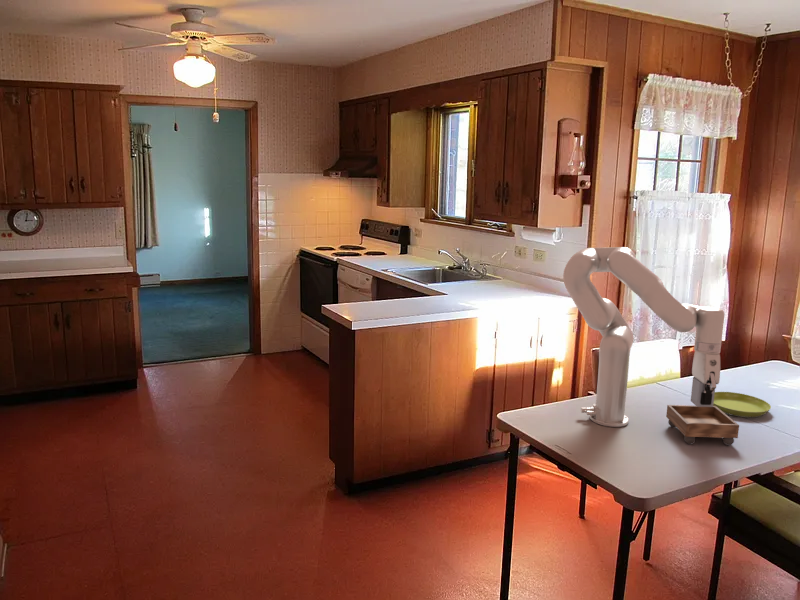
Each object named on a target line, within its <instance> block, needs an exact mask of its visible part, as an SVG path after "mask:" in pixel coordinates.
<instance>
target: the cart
mask: <svg viewBox="0 0 800 600" xmlns="http://www.w3.org/2000/svg"><path fill="white" fill-rule="evenodd" d="M666 406H667V408H666V413H665V415H666V418H667V419H668V425H669V426H670V427H671V428H676V429H678V431H679V432H680V433H681V434H682V435H683V436H684V437H683V441H684V442H685V443H686V444H687V445H692V444H694V443H695V442H696V438H721V439H722V440H721V441H722V442H723V443H724V444H725V445H726V446H731V445H733V444H734V443H735V439H738V438H739V430H740V425H739V424H738V423H737V422H736V421H735V420H734V419H732V418H731V417H730V416H728V414H726V413H724V412H722V411H721V410H720V409H719V408H718V407H716V406H713V407H697V406H696V405H689V404H688V405H687V404H686V405H682V404H680V405H679V404H667V405H666Z"/></svg>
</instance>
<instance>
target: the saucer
mask: <svg viewBox="0 0 800 600" xmlns="http://www.w3.org/2000/svg"><path fill="white" fill-rule="evenodd" d="M713 406H716V407H718V408H719V409H720V410H721V411H722V412H724V413H725V414H726V413H727V414H726V415H730V416H735V417H740V418H757V417H761V416H763V415H765V414H767V413H768V412H769V411H770V410H771V408H772V406H771V404H770V403H769V402H768V401H766V400H764V399H761V398H759V397H756V396H753V395H749V394H745V393H740V392H731V391H715V394H714V403H713Z"/></svg>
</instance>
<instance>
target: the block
mask: <svg viewBox="0 0 800 600" xmlns="http://www.w3.org/2000/svg"><path fill="white" fill-rule="evenodd" d="M707 383H710V381H707ZM709 386H710V385H706V388H707V387H709ZM701 392H703V383H702V382H700V381H699V380H698V379H696V378H695V377H694V376H693V377H692V384H691V395H690V402H691V403H692V405H694V406H697V407H713V403H714V394H715V392H716V388H715V389H714V391H713V393H712V402H711V405H701V404H700V401H701Z"/></svg>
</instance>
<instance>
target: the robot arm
mask: <svg viewBox="0 0 800 600" xmlns="http://www.w3.org/2000/svg"><path fill="white" fill-rule="evenodd" d="M593 273H611V274H612V275H613V276H614V277H615V278H617V280H618V281H620V282H621V283H623V284H624V286H626V287H627V288H629V289H630V290H631V291H632V292H633V293H634V294H635V295H637V296H638V297H639V298H640V300H641V301H642V302H643V303H644V304H645V305H646V306H647V307H648V308H649V309H650V310H651V311H652V312H653V313H654V314H655V315H656V316H657V317H658V318H659V319H661V320H662V321H663V322H664V323H665V324H666V325H668V326H669V327H670V328H671V329H673V330H674V331H676V332H679V333H688V332H691V331H692V330H694V328H695V338H694V345H693V346H694V347H693V350H694V353H693V354H694V355H693V360H692V366H691V367H692V368H691V374H692V376H693V377H695V378H696V379H698V380H699V381H700V382H702V383H703V392H701V401H700V404H701V405H711V402H712V393H713V391H714V389H715V390H716V389H717V385H719V383H720V379H721V354H720V353H721V348H722V340H723V332H724V331H723V330H724V321H725V312H724V310H723V309H722V308H719V307H715V306H702V305H701V306H699V305H695V304H690V303H681V302H680V301H678V300H677V299H676V297H674V296H673V295H672V294H671V293H670V292H669V291H668V290H667V288H666V287H665V285H664V283H663V281H662V279H660V277H659V276H658V275H656V273H654V272H653V271H652V270H651V269H650V268H648V267H647V266H646V265H645V264H643V263H642V262H641V261H640V260H639V259H638V258H636V254H635V253H634V251H633V250H632V249H630V248H629V247H625V246H618V247H617V246H615V247H610V246H609V247H586V248H582V249H580V250H578V251H577V252H576V253H574V254H573V255H572V256H571V257H570V259H568V261H567V262H566V264H565V267H564V269H563V275H562V276H563V277H562V279H563V284H564V287H565V289H566V291H567V292H568V294H569V296H570V297H571V299H572V301H573V303H574V304H575V306H576V308H577V309H578V311H579V313H580V314H581V316H582V318H583V319H584V321H585V323H586V325H587V326H588V327H589V328H590V329H592V330H594V331H598V332H599V333H600V335H601V339H600V343H599V347H598V348H599V350H598V351H599V353H598V356H599V357H598V370H597V371H598V372H597V373H598V374H597V385H596V386H597V387H596V397H595V403H593V404H592V406H590V407H585V406H584V407H583V406H581V407H580V413H581V414H583V413H584V414H586V415H587V416H589V418H590V420H591V421H592V422H594V423H595V424H597V425H600V426H604V427H611V428H620V427H625V426H626V425H628V424H629V423H630V422H629V421H630V419H629V417H628V416H627V415H625V410H626V400H627V390H628V379H629V371H630V370H629V367H630V354H631V349H632V346H633V345H634V344H633V343H634V338H635V337H634V333H633V331H632V329H631V327H630V326H629V324H628V322H627V321H626V319H625V318H624V317H623V315H622V313H621V311H620V309H618V307H617V306H616V304H615V303H614V302H613V301H612V300H610V299H608V298H607V297H606V298H605V297H602V296H601V294H600V292H599V290H598V289H597V287H596V286H595V285H594V283H593V282H592V280H591V275H592V274H593ZM707 381H710V383H707ZM706 385H710V386H709V387H707V388H706Z"/></svg>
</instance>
